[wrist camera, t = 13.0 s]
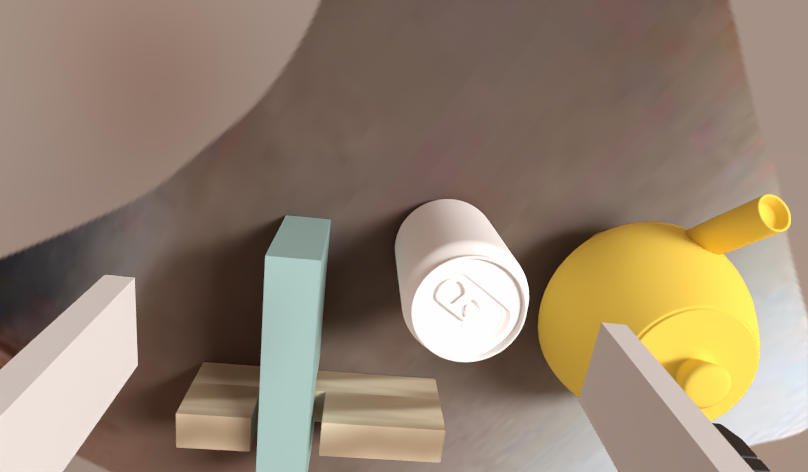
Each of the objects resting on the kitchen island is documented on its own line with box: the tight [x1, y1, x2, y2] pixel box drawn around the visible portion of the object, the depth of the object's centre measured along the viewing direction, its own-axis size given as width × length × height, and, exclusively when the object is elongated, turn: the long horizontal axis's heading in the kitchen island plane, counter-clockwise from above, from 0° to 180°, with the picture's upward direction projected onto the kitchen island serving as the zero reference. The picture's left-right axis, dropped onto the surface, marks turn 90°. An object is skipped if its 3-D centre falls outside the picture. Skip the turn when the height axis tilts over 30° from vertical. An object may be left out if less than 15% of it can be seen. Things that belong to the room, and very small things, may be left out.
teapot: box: [538, 194, 791, 421], centre depth 40 cm, size 20×16×14 cm
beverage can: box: [395, 199, 529, 362], centre depth 39 cm, size 8×8×12 cm
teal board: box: [256, 215, 331, 472], centre depth 42 cm, size 20×4×9 cm, turn 173°
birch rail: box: [176, 362, 445, 462], centre depth 45 cm, size 3×20×7 cm, turn 83°
